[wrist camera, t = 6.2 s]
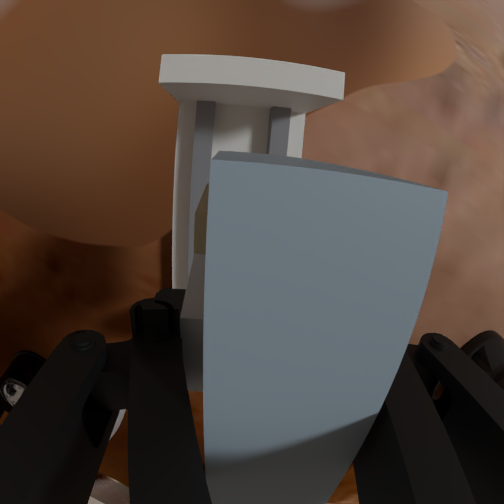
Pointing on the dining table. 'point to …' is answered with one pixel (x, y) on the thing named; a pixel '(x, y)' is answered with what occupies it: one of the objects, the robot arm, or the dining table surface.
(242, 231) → the sliding door panel
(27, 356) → the french press
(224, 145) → the door track
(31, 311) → the dining table surface
